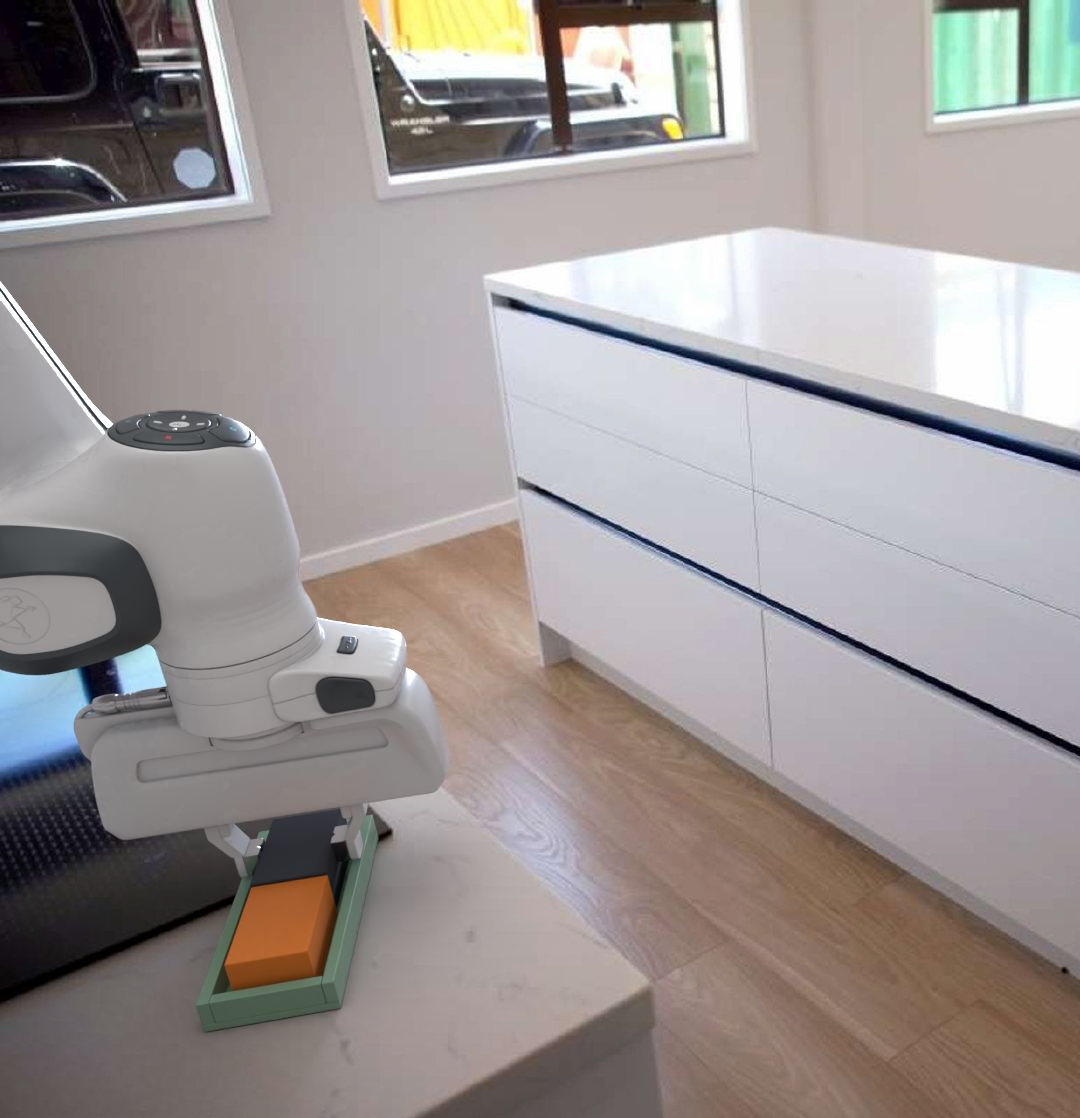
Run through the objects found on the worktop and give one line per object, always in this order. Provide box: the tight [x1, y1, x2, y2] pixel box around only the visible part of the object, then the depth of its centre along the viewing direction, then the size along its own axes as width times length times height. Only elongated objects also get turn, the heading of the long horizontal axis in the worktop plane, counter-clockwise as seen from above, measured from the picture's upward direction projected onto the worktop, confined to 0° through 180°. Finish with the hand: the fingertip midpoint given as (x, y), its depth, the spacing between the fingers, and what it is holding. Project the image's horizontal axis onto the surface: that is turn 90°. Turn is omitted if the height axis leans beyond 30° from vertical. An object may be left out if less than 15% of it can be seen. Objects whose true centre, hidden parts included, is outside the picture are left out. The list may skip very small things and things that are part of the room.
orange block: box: [224, 875, 338, 991], centre depth 76 cm, size 4×7×3 cm, turn 11°
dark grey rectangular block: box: [250, 808, 349, 909], centre depth 82 cm, size 4×7×3 cm, turn 11°
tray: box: [195, 814, 379, 1033], centre depth 79 cm, size 7×16×2 cm, turn 11°
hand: (304, 862), depth 82 cm, fingers closed on dark grey rectangular block, 4 cm apart
